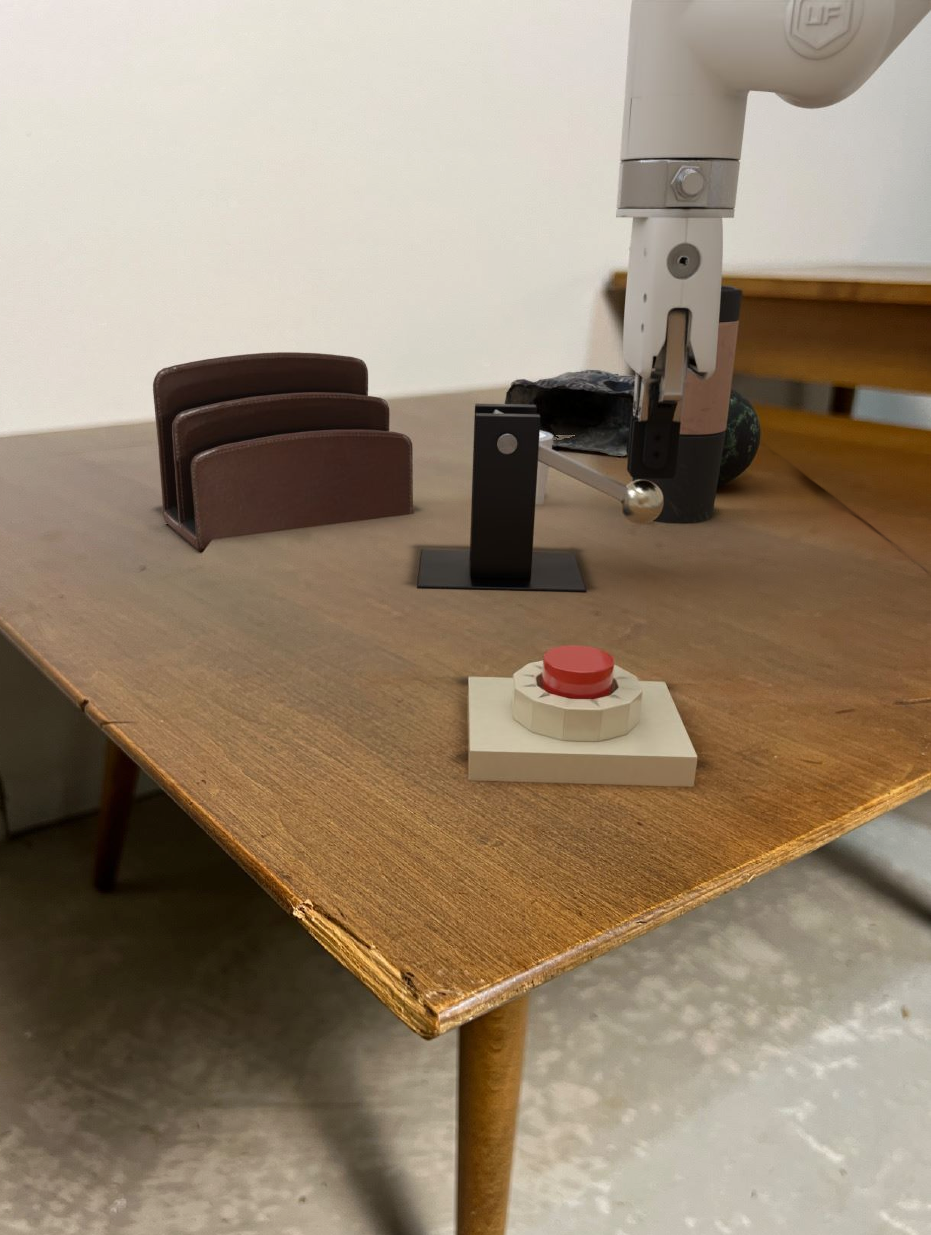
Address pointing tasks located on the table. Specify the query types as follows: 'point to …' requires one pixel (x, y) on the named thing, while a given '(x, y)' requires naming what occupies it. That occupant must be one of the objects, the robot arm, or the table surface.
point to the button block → (576, 733)
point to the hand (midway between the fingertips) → (650, 475)
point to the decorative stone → (739, 438)
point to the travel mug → (703, 427)
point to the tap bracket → (502, 515)
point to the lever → (610, 486)
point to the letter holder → (275, 446)
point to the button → (577, 672)
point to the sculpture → (582, 408)
